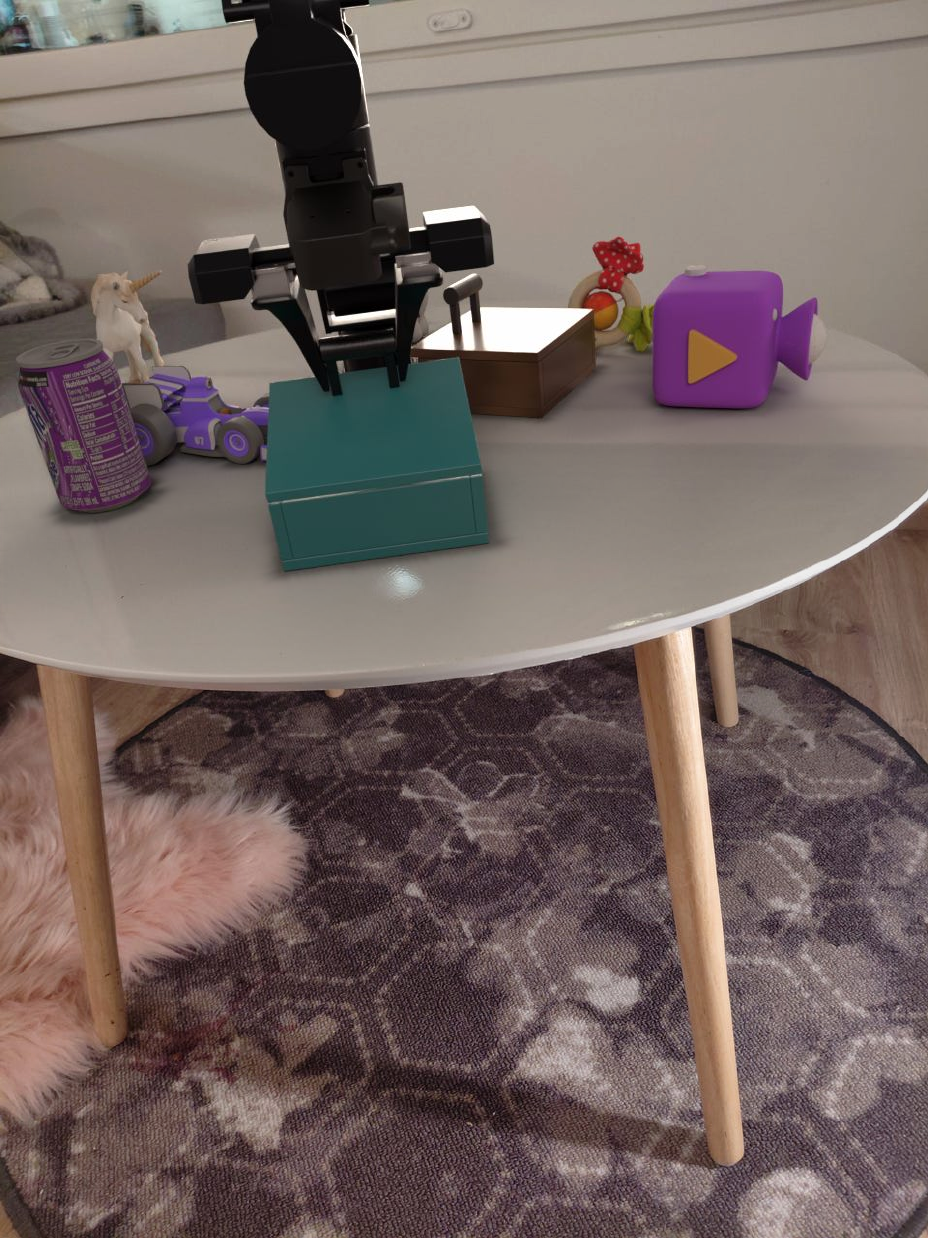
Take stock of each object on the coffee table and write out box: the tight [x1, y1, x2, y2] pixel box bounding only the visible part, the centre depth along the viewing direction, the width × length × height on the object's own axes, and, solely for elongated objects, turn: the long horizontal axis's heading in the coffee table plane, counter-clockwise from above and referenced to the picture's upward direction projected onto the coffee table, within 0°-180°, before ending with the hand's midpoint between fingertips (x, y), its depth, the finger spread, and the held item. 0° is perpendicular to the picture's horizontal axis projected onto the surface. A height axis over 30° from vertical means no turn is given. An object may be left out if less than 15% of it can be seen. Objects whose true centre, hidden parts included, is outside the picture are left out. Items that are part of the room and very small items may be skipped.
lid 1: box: [264, 329, 483, 504], centre depth 61 cm, size 12×14×5 cm
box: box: [417, 318, 597, 419], centre depth 87 cm, size 12×14×5 cm
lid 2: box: [410, 273, 594, 362], centre depth 84 cm, size 12×14×5 cm
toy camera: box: [651, 264, 827, 409], centre depth 78 cm, size 11×14×10 cm
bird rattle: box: [567, 236, 655, 353], centre depth 92 cm, size 6×11×9 cm
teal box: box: [267, 473, 490, 572], centre depth 65 cm, size 12×14×5 cm
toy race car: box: [121, 365, 269, 467], centre depth 81 cm, size 10×15×6 cm, turn 72°
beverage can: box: [15, 338, 152, 514], centre depth 72 cm, size 7×7×12 cm
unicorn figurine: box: [90, 269, 166, 383], centre depth 95 cm, size 7×20×13 cm, turn 26°
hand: (364, 384), depth 64 cm, fingers closed on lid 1, 5 cm apart
